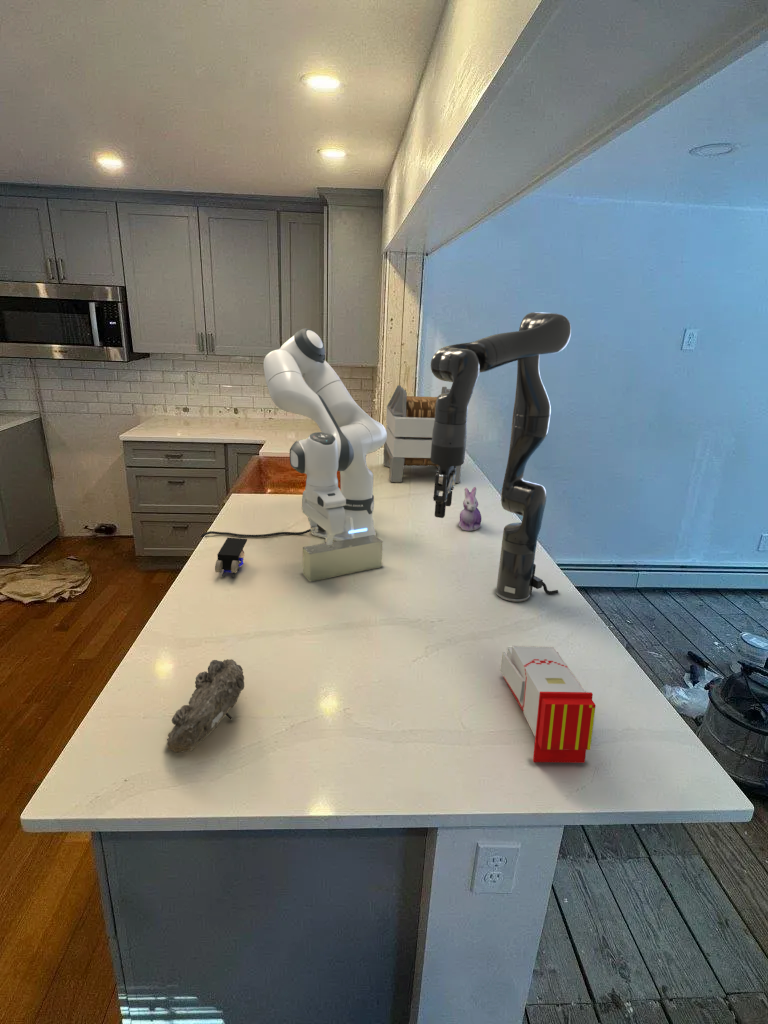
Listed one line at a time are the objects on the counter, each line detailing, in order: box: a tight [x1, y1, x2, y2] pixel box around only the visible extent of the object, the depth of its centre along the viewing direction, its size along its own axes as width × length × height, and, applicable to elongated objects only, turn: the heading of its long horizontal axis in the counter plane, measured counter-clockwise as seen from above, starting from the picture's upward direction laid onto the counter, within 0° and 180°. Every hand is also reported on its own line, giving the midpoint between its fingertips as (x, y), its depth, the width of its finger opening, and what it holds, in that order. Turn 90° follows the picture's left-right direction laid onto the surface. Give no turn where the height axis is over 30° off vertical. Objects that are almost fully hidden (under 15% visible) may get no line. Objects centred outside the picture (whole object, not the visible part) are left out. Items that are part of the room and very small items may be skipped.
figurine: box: [458, 486, 482, 532], centre depth 206 cm, size 9×10×15 cm
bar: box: [302, 535, 384, 583], centre depth 169 cm, size 24×6×9 cm, turn 120°
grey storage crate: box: [383, 384, 462, 484], centre depth 268 cm, size 34×33×41 cm
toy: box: [499, 645, 597, 764], centre depth 112 cm, size 12×13×30 cm
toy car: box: [214, 537, 248, 578], centre depth 166 cm, size 7×8×15 cm
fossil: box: [166, 658, 245, 754], centre depth 106 cm, size 22×10×15 cm
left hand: (321, 537), depth 162 cm, fingers open, 8 cm apart
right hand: (443, 511), depth 130 cm, fingers open, 8 cm apart
